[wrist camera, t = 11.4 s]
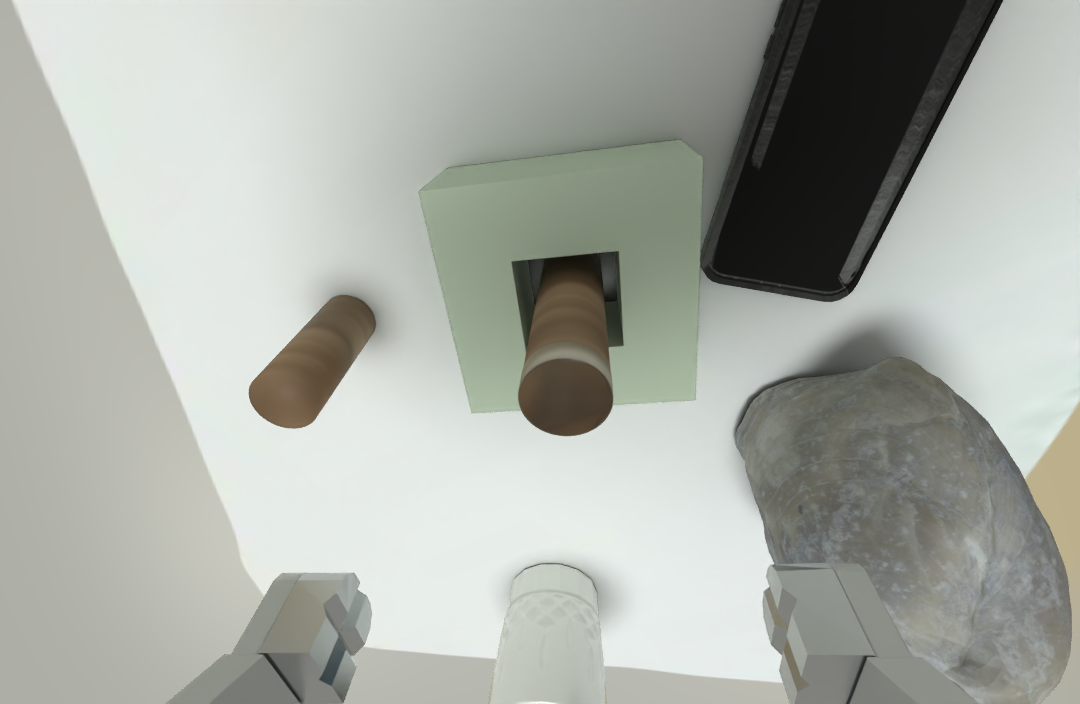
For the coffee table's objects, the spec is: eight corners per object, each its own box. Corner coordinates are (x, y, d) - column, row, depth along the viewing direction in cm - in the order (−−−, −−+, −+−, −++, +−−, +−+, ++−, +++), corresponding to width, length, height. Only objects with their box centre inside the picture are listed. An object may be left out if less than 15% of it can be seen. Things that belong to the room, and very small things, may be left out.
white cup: (593, 625, 42) (596, 771, 34) (500, 611, 42) (479, 754, 34) (612, 565, 38) (621, 713, 30) (509, 550, 38) (488, 694, 30)
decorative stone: (763, 314, 27) (929, 549, 14) (964, 323, 26) (1330, 576, 14) (710, 511, 35) (787, 782, 22) (866, 522, 34) (1040, 805, 21)
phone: (1039, -70, 18) (846, 305, 26) (1016, -63, 19) (837, 296, 27) (823, -110, 18) (694, 279, 25) (811, -101, 19) (690, 271, 26)
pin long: (539, 240, 26) (511, 361, 15) (599, 234, 25) (610, 354, 15) (546, 294, 27) (525, 438, 17) (603, 289, 27) (615, 433, 17)
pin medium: (313, 303, 28) (234, 381, 22) (360, 289, 28) (296, 365, 21) (338, 347, 30) (272, 434, 23) (384, 335, 29) (331, 420, 22)
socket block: (447, 168, 24) (418, 191, 20) (680, 139, 23) (703, 157, 19) (487, 361, 30) (471, 413, 25) (678, 348, 28) (695, 399, 24)
